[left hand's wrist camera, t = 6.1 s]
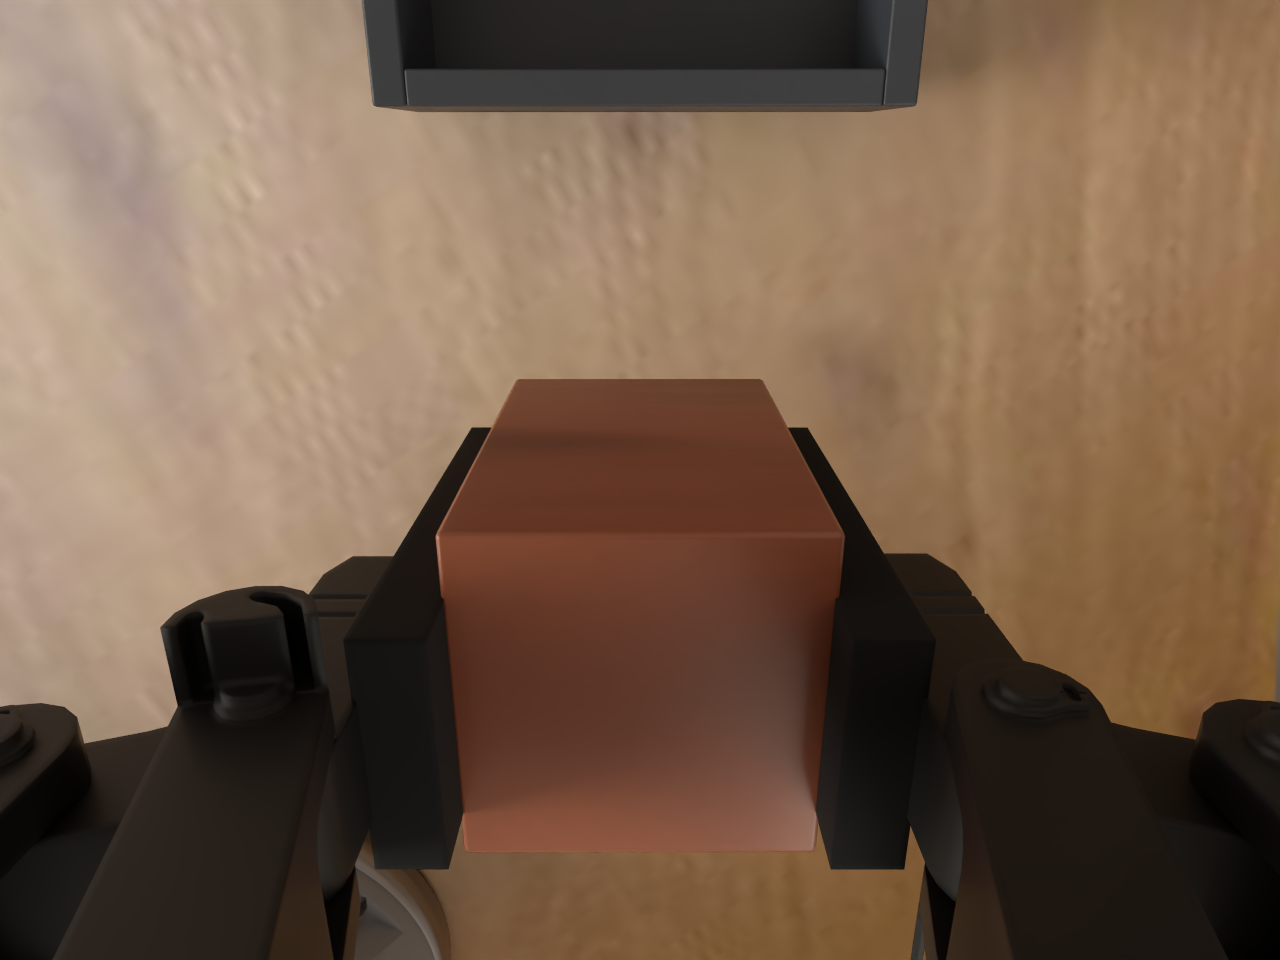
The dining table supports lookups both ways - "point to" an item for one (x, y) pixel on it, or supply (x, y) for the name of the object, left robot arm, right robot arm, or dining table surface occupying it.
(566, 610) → the block
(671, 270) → the dining table surface
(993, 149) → the dining table surface
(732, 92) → the tray
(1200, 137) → the dining table surface
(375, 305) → the dining table surface
